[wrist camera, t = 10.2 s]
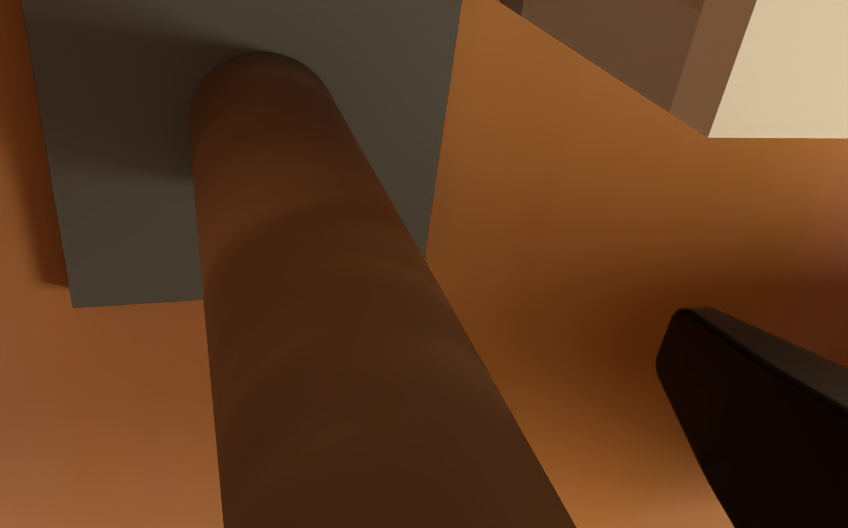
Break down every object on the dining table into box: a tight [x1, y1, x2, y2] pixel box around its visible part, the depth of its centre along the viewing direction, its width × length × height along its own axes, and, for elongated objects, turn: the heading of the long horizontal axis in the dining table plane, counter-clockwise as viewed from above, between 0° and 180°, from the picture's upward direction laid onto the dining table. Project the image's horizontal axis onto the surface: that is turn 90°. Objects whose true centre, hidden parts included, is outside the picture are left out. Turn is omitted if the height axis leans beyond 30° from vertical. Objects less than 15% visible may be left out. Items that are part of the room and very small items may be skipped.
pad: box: [21, 0, 462, 308], centre depth 13 cm, size 7×7×1 cm
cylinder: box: [188, 52, 576, 528], centre depth 8 cm, size 3×3×11 cm
